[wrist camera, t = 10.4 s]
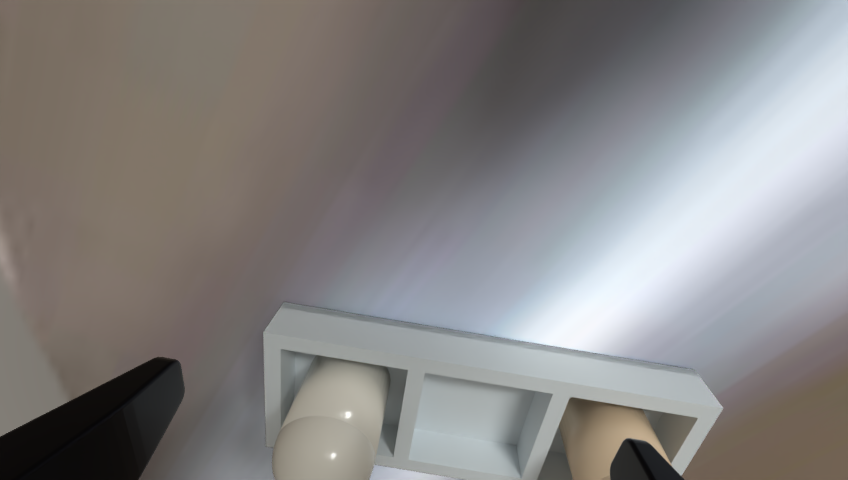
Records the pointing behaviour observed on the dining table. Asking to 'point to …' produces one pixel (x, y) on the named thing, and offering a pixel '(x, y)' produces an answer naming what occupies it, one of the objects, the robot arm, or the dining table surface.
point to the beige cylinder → (601, 435)
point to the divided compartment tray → (479, 393)
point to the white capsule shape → (333, 422)
